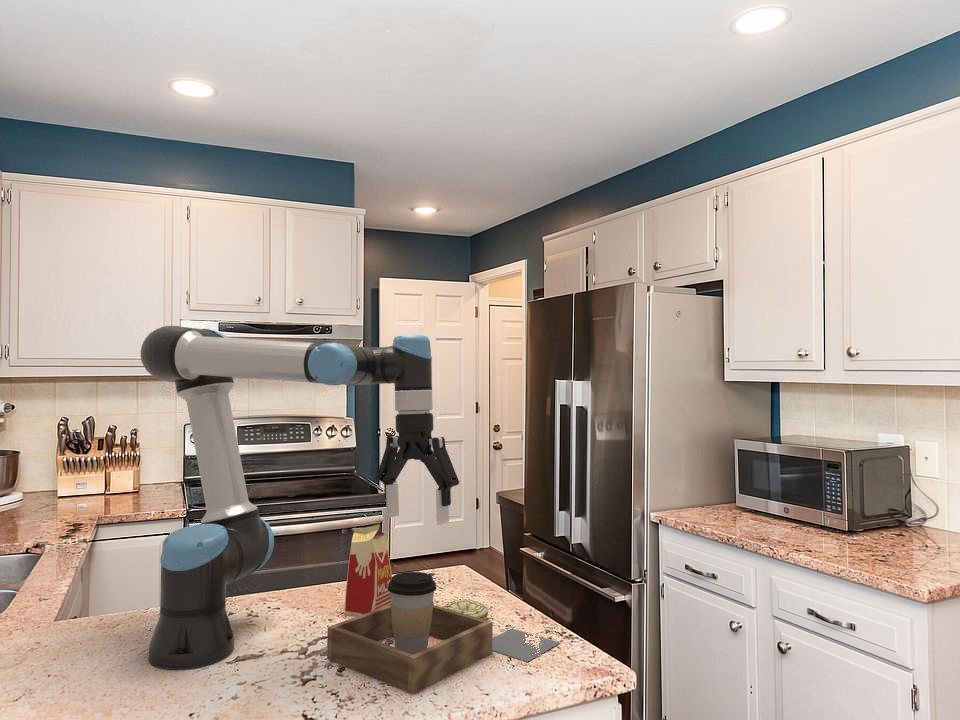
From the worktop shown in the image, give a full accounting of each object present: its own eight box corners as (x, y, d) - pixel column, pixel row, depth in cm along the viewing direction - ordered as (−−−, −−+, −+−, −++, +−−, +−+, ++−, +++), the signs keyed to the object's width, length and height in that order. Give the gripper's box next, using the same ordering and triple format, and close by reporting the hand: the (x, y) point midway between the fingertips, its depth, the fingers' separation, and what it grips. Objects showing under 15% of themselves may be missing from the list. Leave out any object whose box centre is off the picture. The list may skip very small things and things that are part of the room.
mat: (527, 662, 127) (527, 661, 127) (477, 646, 134) (477, 645, 134) (560, 643, 136) (560, 642, 136) (512, 629, 144) (512, 628, 144)
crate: (413, 694, 113) (413, 658, 114) (326, 658, 127) (327, 627, 127) (492, 653, 131) (492, 622, 131) (409, 625, 145) (409, 597, 145)
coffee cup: (427, 668, 123) (429, 586, 124) (379, 663, 125) (380, 582, 126) (440, 648, 133) (442, 572, 133) (395, 644, 135) (396, 569, 135)
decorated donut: (429, 621, 148) (429, 604, 148) (465, 610, 156) (465, 594, 156) (461, 635, 141) (461, 616, 141) (497, 622, 148) (497, 605, 148)
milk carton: (395, 607, 156) (397, 521, 157) (373, 620, 148) (375, 529, 148) (362, 601, 160) (364, 517, 160) (339, 613, 152) (341, 524, 152)
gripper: (474, 411, 129) (478, 522, 128) (384, 411, 145) (386, 510, 144) (449, 413, 123) (453, 529, 122) (357, 413, 139) (360, 517, 138)
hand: (417, 519), depth 133 cm, fingers open, 13 cm apart
